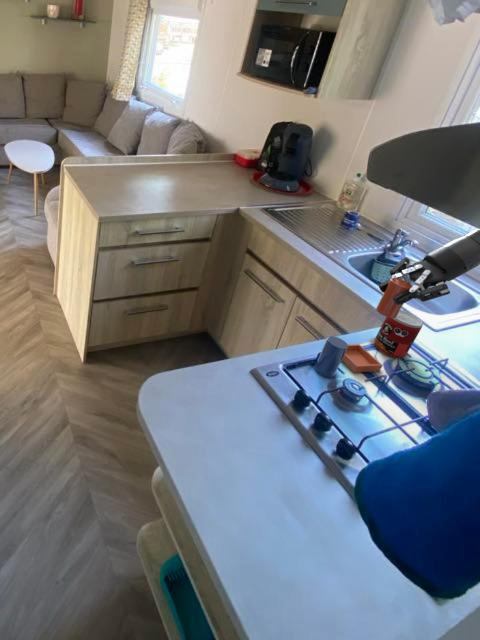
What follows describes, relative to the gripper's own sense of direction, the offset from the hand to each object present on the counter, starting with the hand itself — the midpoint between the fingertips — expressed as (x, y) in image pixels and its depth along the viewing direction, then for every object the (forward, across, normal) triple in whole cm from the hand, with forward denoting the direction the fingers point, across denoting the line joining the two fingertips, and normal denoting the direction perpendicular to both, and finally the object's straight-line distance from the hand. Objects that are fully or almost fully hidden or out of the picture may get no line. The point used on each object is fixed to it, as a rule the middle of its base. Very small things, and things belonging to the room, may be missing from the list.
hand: (388, 295), depth 104 cm
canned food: (+5, -5, +23) cm, 24 cm away
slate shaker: (+23, +6, +5) cm, 24 cm away
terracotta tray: (+15, +2, +13) cm, 20 cm away
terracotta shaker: (+2, 0, +5) cm, 5 cm away
